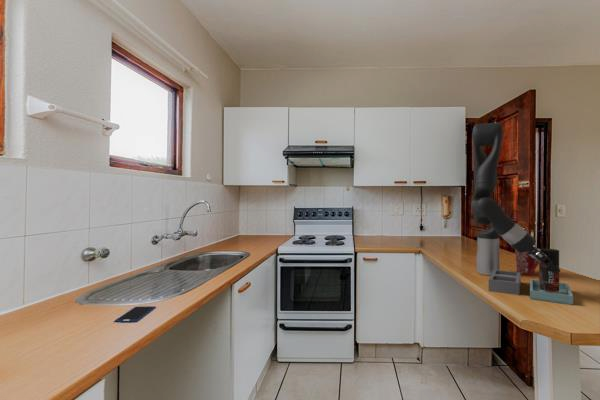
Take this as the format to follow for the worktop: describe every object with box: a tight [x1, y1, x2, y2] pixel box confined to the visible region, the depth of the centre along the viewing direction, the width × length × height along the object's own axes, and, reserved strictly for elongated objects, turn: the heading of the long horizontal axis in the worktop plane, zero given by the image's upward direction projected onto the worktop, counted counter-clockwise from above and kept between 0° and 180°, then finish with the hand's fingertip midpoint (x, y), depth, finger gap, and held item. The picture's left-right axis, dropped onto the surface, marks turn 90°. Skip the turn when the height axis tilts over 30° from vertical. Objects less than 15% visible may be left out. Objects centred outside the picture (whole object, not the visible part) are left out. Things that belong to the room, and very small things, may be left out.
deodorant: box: [538, 248, 560, 292], centre depth 122 cm, size 6×6×15 cm
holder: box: [488, 269, 522, 296], centre depth 134 cm, size 21×10×4 cm, turn 144°
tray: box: [529, 278, 574, 306], centre depth 122 cm, size 20×12×3 cm, turn 144°
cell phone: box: [113, 305, 157, 324], centre depth 105 cm, size 7×14×1 cm, turn 0°
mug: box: [514, 244, 539, 276], centre depth 155 cm, size 13×9×14 cm
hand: (554, 270), depth 121 cm, fingers closed on deodorant, 6 cm apart
